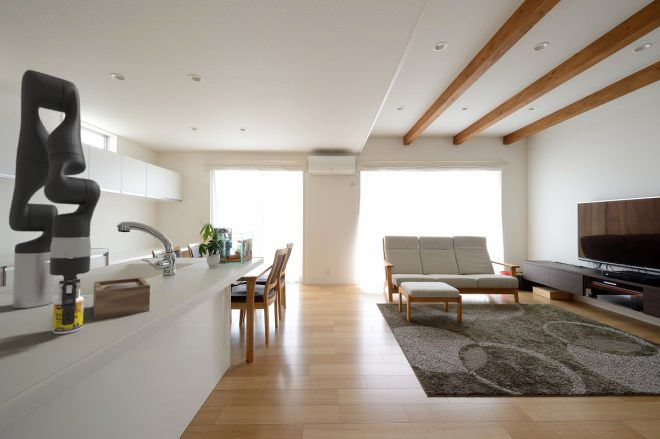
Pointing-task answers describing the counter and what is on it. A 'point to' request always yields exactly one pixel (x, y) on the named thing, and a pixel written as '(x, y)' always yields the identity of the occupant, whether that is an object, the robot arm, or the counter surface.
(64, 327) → the supplement bottle
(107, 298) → the wooden box
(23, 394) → the counter surface
